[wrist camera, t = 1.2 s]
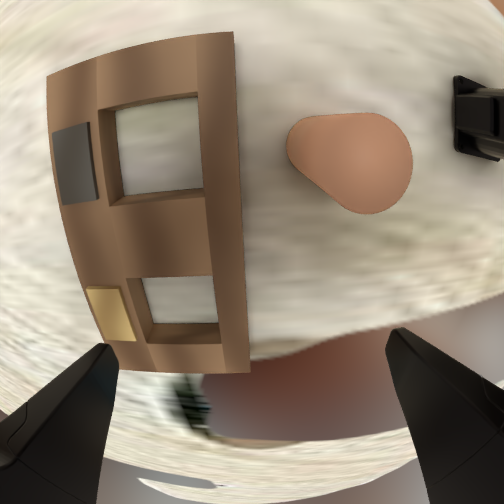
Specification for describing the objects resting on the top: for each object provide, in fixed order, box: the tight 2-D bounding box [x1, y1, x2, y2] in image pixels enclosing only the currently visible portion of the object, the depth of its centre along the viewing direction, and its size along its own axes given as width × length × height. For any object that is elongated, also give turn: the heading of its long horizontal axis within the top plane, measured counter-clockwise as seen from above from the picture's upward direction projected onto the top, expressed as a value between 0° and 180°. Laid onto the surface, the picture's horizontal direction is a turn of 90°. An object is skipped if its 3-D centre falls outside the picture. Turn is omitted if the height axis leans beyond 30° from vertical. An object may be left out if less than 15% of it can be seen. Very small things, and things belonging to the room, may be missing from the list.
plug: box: [286, 113, 413, 214], centre depth 13 cm, size 4×4×8 cm
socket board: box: [47, 32, 250, 373], centre depth 17 cm, size 12×24×3 cm, turn 2°
